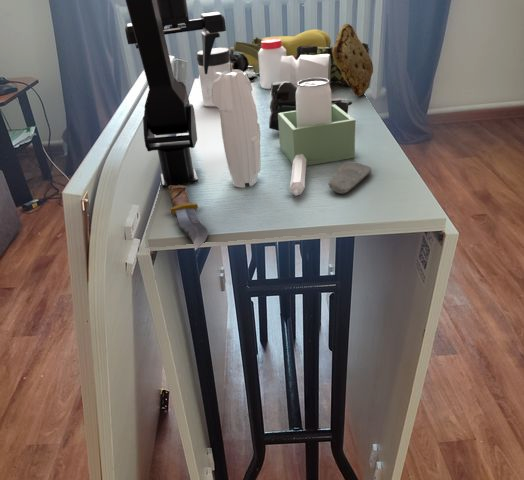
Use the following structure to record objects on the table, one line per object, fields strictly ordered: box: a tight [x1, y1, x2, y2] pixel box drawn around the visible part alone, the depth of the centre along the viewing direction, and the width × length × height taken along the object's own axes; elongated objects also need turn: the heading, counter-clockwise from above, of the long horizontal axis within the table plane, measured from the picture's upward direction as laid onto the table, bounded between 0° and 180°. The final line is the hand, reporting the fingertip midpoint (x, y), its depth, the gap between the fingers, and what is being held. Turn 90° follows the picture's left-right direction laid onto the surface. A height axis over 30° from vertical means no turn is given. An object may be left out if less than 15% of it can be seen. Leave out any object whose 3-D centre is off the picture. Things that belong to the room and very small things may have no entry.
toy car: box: [297, 42, 370, 87], centre depth 142 cm, size 9×19×10 cm
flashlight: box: [212, 69, 262, 188], centre depth 89 cm, size 7×18×7 cm
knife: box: [167, 184, 209, 252], centre depth 85 cm, size 25×1×5 cm
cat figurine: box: [268, 81, 353, 132], centre depth 118 cm, size 10×14×18 cm
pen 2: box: [331, 97, 349, 104], centre depth 131 cm, size 1×19×1 cm
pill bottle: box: [258, 38, 287, 90], centre depth 145 cm, size 8×8×11 cm
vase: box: [280, 54, 331, 88], centre depth 137 cm, size 9×9×12 cm
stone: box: [328, 160, 372, 194], centre depth 91 cm, size 12×2×5 cm
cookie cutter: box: [233, 36, 263, 74], centre depth 155 cm, size 18×12×2 cm, turn 29°
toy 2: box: [240, 28, 332, 68], centre depth 165 cm, size 14×9×30 cm
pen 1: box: [248, 75, 259, 82], centre depth 153 cm, size 14×2×1 cm, turn 127°
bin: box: [278, 104, 356, 167], centre depth 102 cm, size 12×12×7 cm
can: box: [296, 78, 332, 128], centre depth 99 cm, size 6×6×12 cm
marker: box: [289, 154, 307, 197], centre depth 92 cm, size 3×2×16 cm
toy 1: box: [229, 46, 250, 73], centre depth 157 cm, size 7×7×15 cm
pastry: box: [332, 22, 374, 97], centre depth 130 cm, size 17×17×3 cm
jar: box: [196, 47, 232, 108], centre depth 136 cm, size 9×8×12 cm
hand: (183, 77), depth 107 cm, fingers open, 9 cm apart
